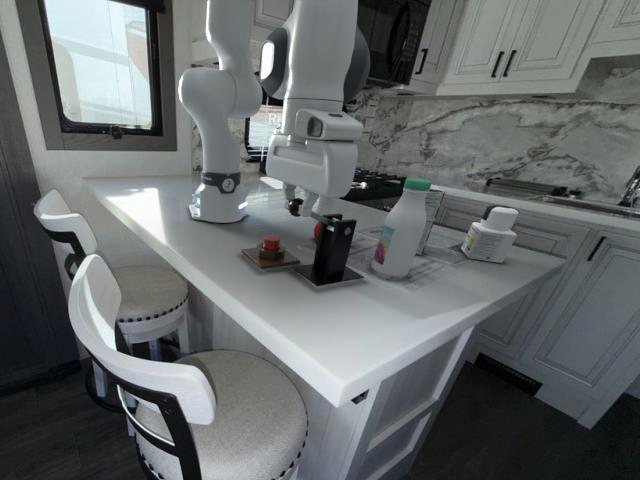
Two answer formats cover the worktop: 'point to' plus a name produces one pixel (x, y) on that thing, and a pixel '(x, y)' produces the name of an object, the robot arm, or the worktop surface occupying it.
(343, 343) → the worktop surface
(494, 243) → the container
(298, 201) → the lever
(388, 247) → the milk bottle
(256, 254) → the button block
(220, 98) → the robot arm
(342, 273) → the bracket
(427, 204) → the candy bar box
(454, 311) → the worktop surface
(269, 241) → the button
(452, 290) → the worktop surface
